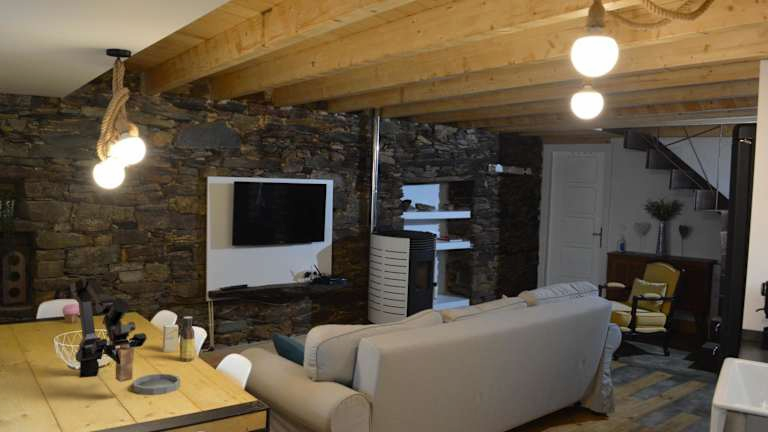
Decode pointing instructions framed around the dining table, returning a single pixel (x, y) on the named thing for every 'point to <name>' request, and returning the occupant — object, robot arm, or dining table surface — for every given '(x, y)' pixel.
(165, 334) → the skincare box
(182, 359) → the sauce bottle
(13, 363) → the dining table surface
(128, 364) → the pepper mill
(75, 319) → the cupcake
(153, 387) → the slate dish
